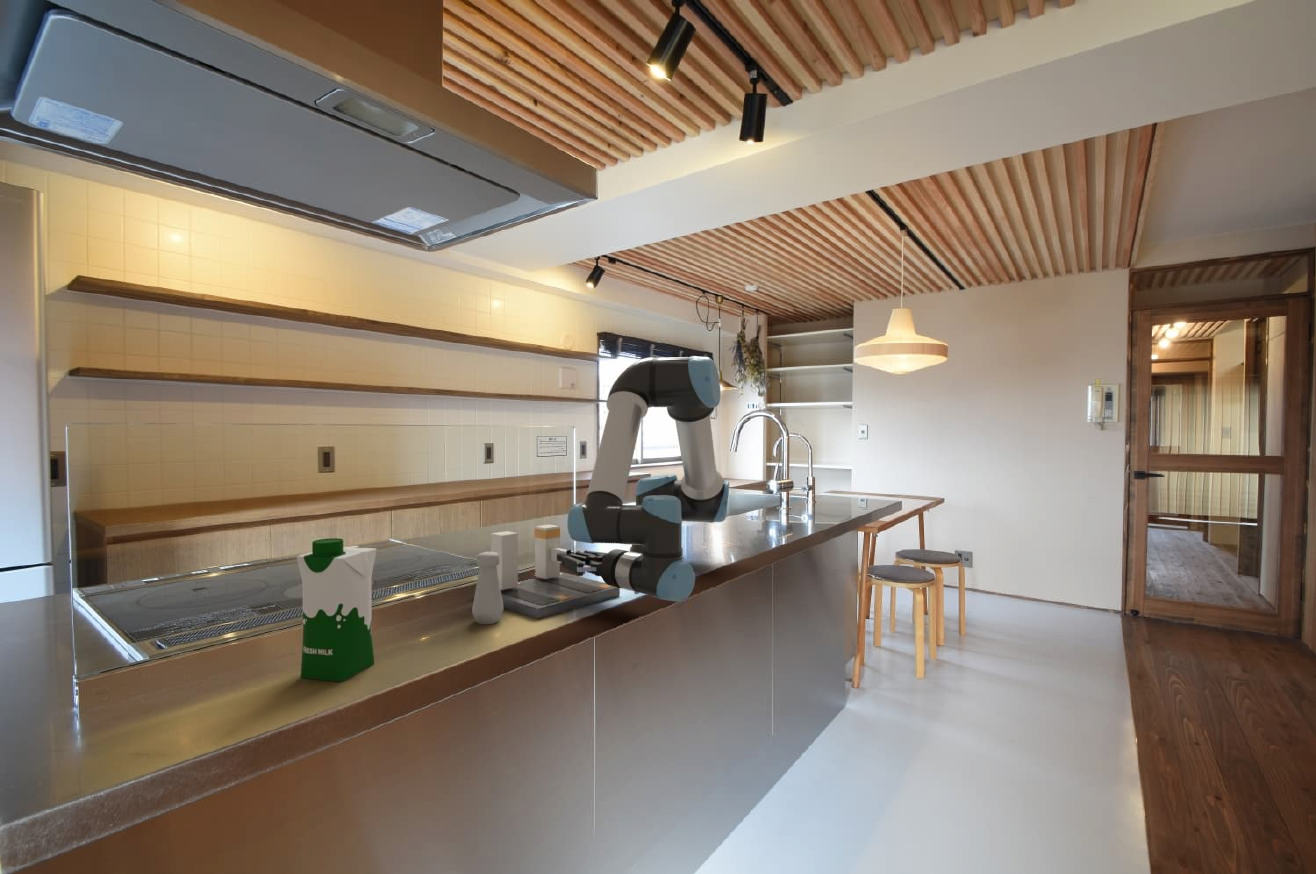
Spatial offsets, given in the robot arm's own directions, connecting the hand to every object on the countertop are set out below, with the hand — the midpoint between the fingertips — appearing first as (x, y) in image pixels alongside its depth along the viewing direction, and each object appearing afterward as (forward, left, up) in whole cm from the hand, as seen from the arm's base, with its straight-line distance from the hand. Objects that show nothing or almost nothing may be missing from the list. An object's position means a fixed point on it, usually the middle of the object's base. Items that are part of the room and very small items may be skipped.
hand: (553, 553), depth 137 cm
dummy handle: (+12, -2, -5) cm, 13 cm away
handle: (0, -2, -6) cm, 6 cm away
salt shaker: (+23, +9, -8) cm, 26 cm away
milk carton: (+51, +13, -8) cm, 53 cm away
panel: (+5, +4, -8) cm, 10 cm away
